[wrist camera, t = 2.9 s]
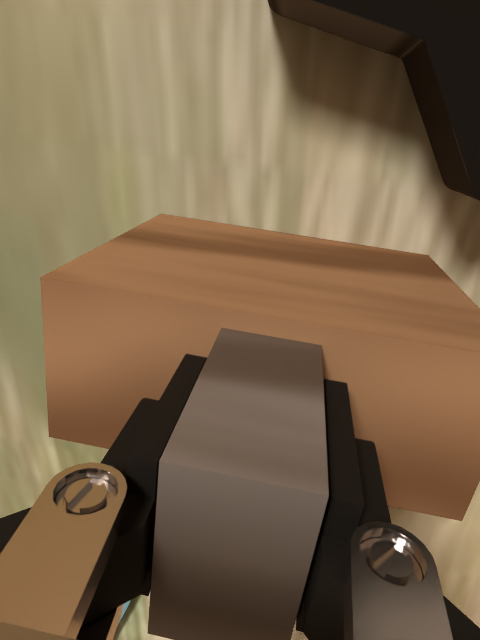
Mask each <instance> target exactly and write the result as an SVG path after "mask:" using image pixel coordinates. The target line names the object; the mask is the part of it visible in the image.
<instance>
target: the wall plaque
mask: <svg viewBox="0 0 480 640" xmlns="http://www.w3.org/2000/svg"><path fill="white" fill-rule="evenodd" d="M268 2H269V5H270V7H271V9H272V10H273V11H274V12H276V13H277V14H279V15H281V16H284V17H286V18H289V19H292V20H295V21H298V22H300V23H303V24H306V25H309V26H312V27H314V28H317V29H320V30H323V31H325V32H328V33H331V34H334V35H337V36H339V37H342V38H345V39H348V40H351V41H353V42H356V43H359V44H362V45H365V46H367V47H370V48H373V49H376V50H379V51H381V52H384V53H388V54H391V55H394V56H397V57H399V58H401V59H402V61H403V63H404V66H405V69H406V72H407V75H408V78H409V81H410V84H411V87H412V90H413V93H414V96H415V99H416V102H417V105H418V108H419V111H420V114H421V117H422V120H423V123H424V125H425V128H426V131H427V134H428V137H429V140H430V143H431V146H432V149H433V152H434V155H435V158H436V161H437V164H438V167H439V170H440V173H441V176H442V179H443V181H444V183H445V185H446V186H447V187H448V188H450V189H452V190H455V191H457V192H460V193H463V194H465V195H468V196H470V197H473V198H475V199H478V200H480V0H268Z"/></svg>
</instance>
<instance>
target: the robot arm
mask: <svg viewBox="0 0 480 640" xmlns="http://www.w3.org/2000/svg"><path fill="white" fill-rule="evenodd" d="M206 360H207V357H202V356H197V355H191V354H185V356H184V357H183V359H182V361H181V363H180V364H179V366H178V368H177V370H176V371H175V373H174V375H173V377H172V378H171V380H170V382H169V384H168V385H167V387H166V389H165V391H164V392H163V394H162V396H161V398H160V399H159V400H155V399H150V398H142V400H141V401H140V402H139V404H138V405H137V407H136V408H135V410H134V412H133V413H132V415H131V416H130V418H129V419H128V421H127V422H126V424H125V426H124V427H123V429H122V430H121V432H120V433H119V435H118V436H117V438H116V440H115V441H114V443H113V444H112V446H111V447H110V449H109V451H108V452H107V454H106V455H105V457H104V458H103V460H102V461H101V463H83V464H77V465H74V466H72V467H69V468H66V469H64V470H63V471H61V472H60V473H58V474H57V475H55V476H54V477H53V478H52V480H51V481H50V482H49V483H48V484H47V485H46V487H45V488H44V490H43V491H42V493H41V494H40V496H39V497H38V499H37V500H36V502H35V503H34V505H33V506H32V507H31V508H28V509H25V510H22V511H20V512H17V513H14V514H11V515H9V516H6V517H3V518H0V640H113V637H114V634H115V631H116V629H117V626H118V623H119V620H120V617H121V614H122V608H123V604H124V603H126V602H128V601H130V600H132V599H133V598H135V597H137V596H139V595H140V594H141V595H146V596H149V593H150V590H151V578H152V563H153V548H154V533H155V518H156V503H157V488H158V474H159V461H160V458H161V456H162V454H163V452H164V450H165V448H166V446H167V443H168V441H169V439H170V437H171V435H172V433H173V431H174V428H175V426H176V424H177V422H178V420H179V418H180V416H181V413H182V411H183V409H184V407H185V405H186V403H187V401H188V398H189V396H190V394H191V392H192V390H193V388H194V386H195V383H196V381H197V379H198V377H199V375H200V373H201V370H202V368H203V366H204V364H205V362H206ZM323 384H324V404H325V425H326V446H327V467H328V488H329V497H328V501H327V504H326V508H325V512H324V516H323V519H322V523H321V527H320V531H319V534H318V538H317V542H316V546H315V549H314V553H313V557H312V561H311V564H310V568H309V572H308V576H307V579H306V583H305V587H304V591H303V594H302V598H301V602H300V606H299V609H298V613H297V617H296V630H297V631H301V632H303V633H304V634H305V636H306V637H307V638H308V639H309V640H480V628H479V627H478V626H477V625H476V624H474V623H473V622H472V621H471V620H470V619H469V618H468V617H467V616H466V615H464V614H463V613H462V612H461V611H460V610H459V609H458V608H457V607H456V606H454V605H453V604H452V603H451V602H450V601H449V600H448V599H447V598H446V597H445V596H443V594H442V589H441V585H440V580H439V576H438V572H437V567H436V565H435V562H434V560H433V557H432V555H431V553H430V552H429V551H428V549H427V548H426V546H425V545H424V544H423V543H422V542H421V541H420V540H419V539H418V538H417V537H415V536H414V535H413V534H412V533H410V532H408V531H407V530H405V529H403V528H402V527H399V526H396V525H394V524H391V520H390V515H389V510H388V505H387V500H386V495H385V490H384V485H383V480H382V475H381V471H380V466H379V461H378V456H377V451H376V447H375V444H374V442H373V441H368V440H363V439H358V438H355V434H354V427H353V420H352V413H351V406H350V399H349V392H348V385H347V383H345V382H339V381H334V380H329V379H324V381H323Z"/></svg>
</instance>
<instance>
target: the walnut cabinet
mask: <svg viewBox="0 0 480 640" xmlns="http://www.w3.org/2000/svg"><path fill="white" fill-rule="evenodd" d="M40 279H41V297H42V316H43V334H44V352H45V371H46V389H47V408H48V426H49V437H53V438H58V439H63V440H67V441H72V442H77V443H82V444H87V445H92V446H97V447H102V448H107V449H110V447H111V446H112V444H113V443H114V441H115V440H116V438H117V436H118V435H119V433H120V432H121V430H122V429H123V427H124V426H125V424H126V422H127V421H128V419H129V418H130V416H131V415H132V413H133V412H134V410H135V408H136V407H137V405H138V404H139V402H140V401H141V400H142V398H150V399H155V400H159V399H160V398H161V396H162V394H163V392H164V391H165V389H166V387H167V385H168V384H169V382H170V380H171V378H172V377H173V375H174V373H175V371H176V370H177V368H178V366H179V364H180V363H181V361H182V359H183V357H184V356H185V354H191V355H197V356H202V357H207V360H206V362H205V364H204V366H203V368H202V370H201V373H200V375H199V377H198V379H197V381H196V383H195V386H194V388H193V390H192V392H191V394H190V396H189V398H188V401H187V403H186V405H185V407H184V409H183V411H182V413H181V416H180V418H179V420H178V422H177V424H176V426H175V428H174V431H173V433H172V435H171V437H170V439H169V441H168V443H167V446H166V448H165V450H164V452H163V454H162V456H161V458H160V461H159V474H158V488H157V503H156V518H155V533H154V548H153V563H152V578H151V592H150V607H149V622H148V634H152V635H157V636H161V637H165V638H169V639H173V640H290V639H291V636H292V632H293V628H294V624H295V621H296V617H297V613H298V609H299V606H300V602H301V598H302V594H303V591H304V587H305V583H306V579H307V576H308V572H309V568H310V564H311V561H312V557H313V553H314V549H315V546H316V542H317V538H318V534H319V531H320V527H321V523H322V519H323V516H324V512H325V508H326V504H327V501H328V497H329V488H328V467H327V446H326V425H325V404H324V384H323V381H324V379H329V380H334V381H339V382H345V383H347V385H348V392H349V399H350V406H351V413H352V420H353V427H354V434H355V438H358V439H363V440H368V441H373V442H374V444H375V447H376V451H377V456H378V461H379V466H380V471H381V475H382V480H383V485H384V490H385V495H386V500H387V505H388V506H391V507H396V508H401V509H405V510H410V511H415V512H420V513H425V514H430V515H435V516H440V517H445V518H450V519H454V520H459V521H462V520H463V518H464V515H465V513H466V511H467V509H468V506H469V504H470V502H471V499H472V497H473V495H474V492H475V490H476V488H477V486H478V483H479V481H480V309H479V307H478V306H477V305H476V304H475V303H474V302H473V301H472V300H471V299H470V298H469V297H468V296H467V295H466V294H465V293H464V292H463V291H462V290H461V289H460V288H459V287H458V286H457V285H456V284H455V283H454V282H453V281H452V280H451V278H450V277H449V276H448V275H447V274H446V273H445V272H444V271H443V270H442V269H441V268H440V267H439V266H438V265H437V264H436V263H435V262H434V261H433V260H432V259H431V258H430V257H429V256H428V255H422V254H416V253H409V252H403V251H396V250H390V249H384V248H377V247H371V246H364V245H358V244H351V243H345V242H339V241H332V240H326V239H319V238H313V237H307V236H300V235H294V234H287V233H281V232H274V231H268V230H262V229H255V228H249V227H242V226H236V225H229V224H223V223H217V222H210V221H204V220H197V219H191V218H184V217H178V216H172V215H165V214H160V215H158V216H156V217H154V218H152V219H150V220H148V221H147V222H145V223H143V224H141V225H139V226H137V227H135V228H133V229H131V230H130V231H128V232H126V233H124V234H122V235H120V236H118V237H116V238H114V239H112V240H111V241H109V242H107V243H105V244H103V245H101V246H99V247H97V248H95V249H94V250H92V251H90V252H88V253H86V254H84V255H82V256H80V257H78V258H76V259H75V260H73V261H71V262H69V263H67V264H65V265H63V266H61V267H59V268H58V269H56V270H54V271H52V272H50V273H48V274H46V275H44V276H42V277H40Z"/></svg>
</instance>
